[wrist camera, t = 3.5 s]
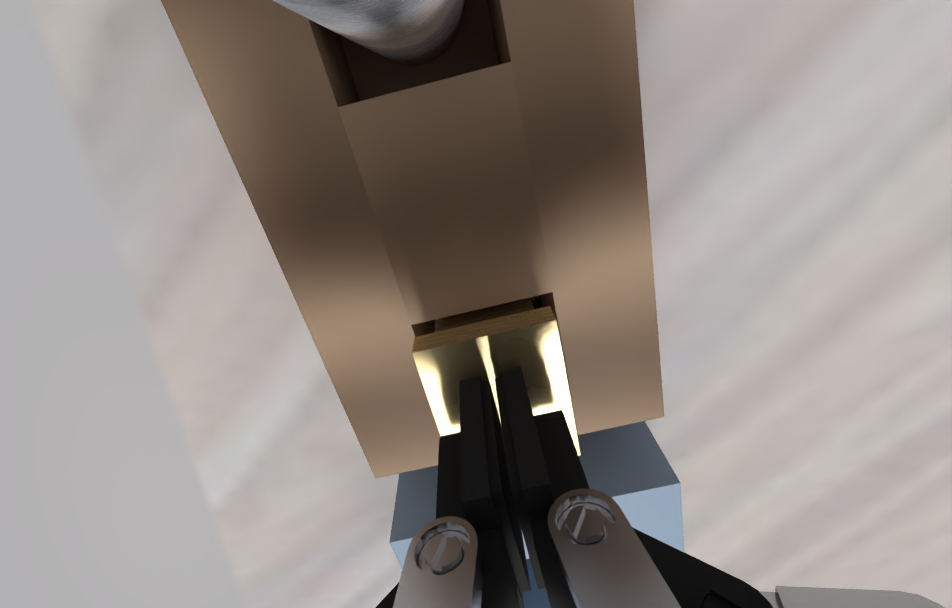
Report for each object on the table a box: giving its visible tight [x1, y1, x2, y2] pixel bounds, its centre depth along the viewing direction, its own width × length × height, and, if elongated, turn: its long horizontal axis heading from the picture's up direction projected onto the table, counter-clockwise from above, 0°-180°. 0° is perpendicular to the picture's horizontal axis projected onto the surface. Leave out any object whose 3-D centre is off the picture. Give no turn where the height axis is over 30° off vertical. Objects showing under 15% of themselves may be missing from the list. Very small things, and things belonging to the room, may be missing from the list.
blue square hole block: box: [390, 421, 684, 608], centre depth 20 cm, size 9×10×5 cm
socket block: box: [161, 0, 664, 478], centre depth 14 cm, size 18×10×4 cm, turn 13°
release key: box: [412, 297, 581, 456], centre depth 14 cm, size 4×4×5 cm
